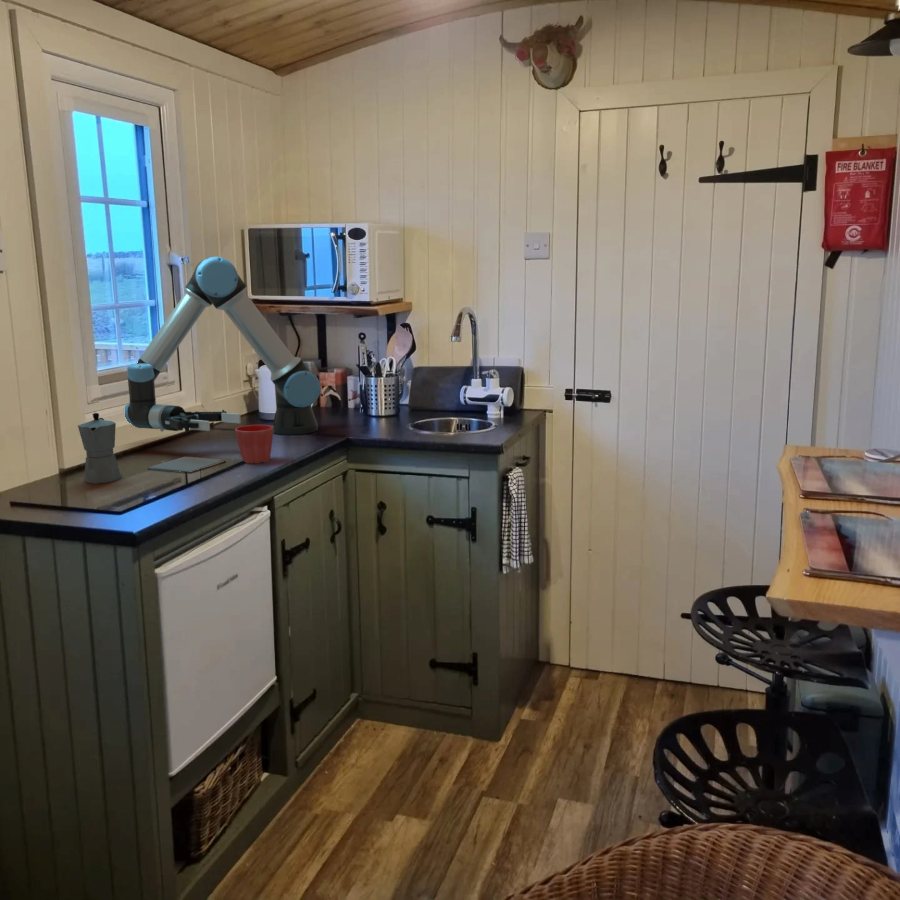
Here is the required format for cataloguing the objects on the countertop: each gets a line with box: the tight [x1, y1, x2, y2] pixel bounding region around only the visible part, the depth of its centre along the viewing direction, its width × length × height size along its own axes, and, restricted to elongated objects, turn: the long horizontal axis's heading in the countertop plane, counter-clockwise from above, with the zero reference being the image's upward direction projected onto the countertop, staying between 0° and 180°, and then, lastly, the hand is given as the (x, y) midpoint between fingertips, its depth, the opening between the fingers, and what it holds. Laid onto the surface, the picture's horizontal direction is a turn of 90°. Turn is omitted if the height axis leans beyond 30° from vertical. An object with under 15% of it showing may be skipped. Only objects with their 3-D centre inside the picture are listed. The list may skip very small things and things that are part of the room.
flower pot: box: [234, 424, 274, 464], centre depth 252 cm, size 11×11×10 cm
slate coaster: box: [147, 456, 221, 473], centre depth 248 cm, size 15×15×1 cm
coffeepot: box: [77, 412, 122, 485], centre depth 234 cm, size 15×9×18 cm, turn 13°
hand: (224, 422), depth 254 cm, fingers open, 13 cm apart
